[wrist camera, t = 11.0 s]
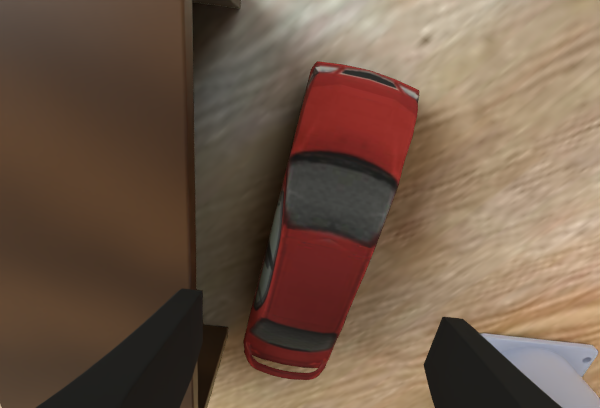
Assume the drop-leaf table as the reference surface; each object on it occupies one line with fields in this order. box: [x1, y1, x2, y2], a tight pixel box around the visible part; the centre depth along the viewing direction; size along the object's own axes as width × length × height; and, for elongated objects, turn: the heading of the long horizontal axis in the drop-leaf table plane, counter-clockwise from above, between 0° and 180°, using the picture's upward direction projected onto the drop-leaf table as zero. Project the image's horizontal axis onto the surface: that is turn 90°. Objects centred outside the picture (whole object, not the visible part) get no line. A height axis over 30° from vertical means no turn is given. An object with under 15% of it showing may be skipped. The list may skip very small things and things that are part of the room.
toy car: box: [243, 61, 419, 380], centre depth 15 cm, size 6×15×5 cm, turn 162°
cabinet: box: [0, 0, 241, 408], centre depth 14 cm, size 20×8×7 cm, turn 173°
